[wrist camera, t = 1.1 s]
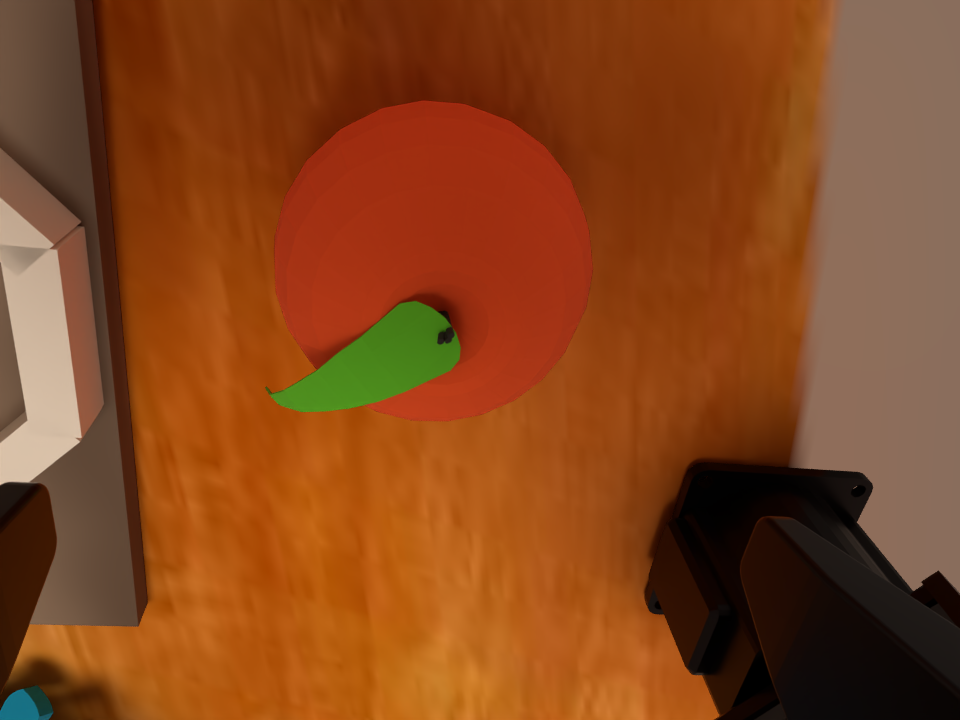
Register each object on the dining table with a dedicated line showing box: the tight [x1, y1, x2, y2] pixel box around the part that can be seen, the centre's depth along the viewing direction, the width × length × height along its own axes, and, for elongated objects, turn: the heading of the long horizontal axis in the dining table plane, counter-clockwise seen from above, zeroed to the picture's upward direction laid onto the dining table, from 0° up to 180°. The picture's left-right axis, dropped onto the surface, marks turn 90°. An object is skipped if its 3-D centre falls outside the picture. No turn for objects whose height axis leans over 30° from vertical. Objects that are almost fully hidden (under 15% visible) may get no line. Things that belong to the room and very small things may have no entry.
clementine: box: [265, 100, 593, 421], centre depth 16 cm, size 8×7×7 cm
